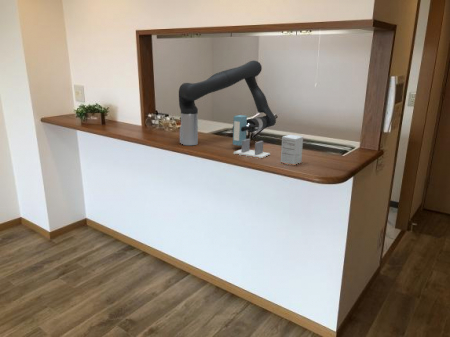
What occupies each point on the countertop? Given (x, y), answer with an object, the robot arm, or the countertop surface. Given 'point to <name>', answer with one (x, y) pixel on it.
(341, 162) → the countertop surface
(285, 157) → the supplement box
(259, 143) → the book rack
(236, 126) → the book
